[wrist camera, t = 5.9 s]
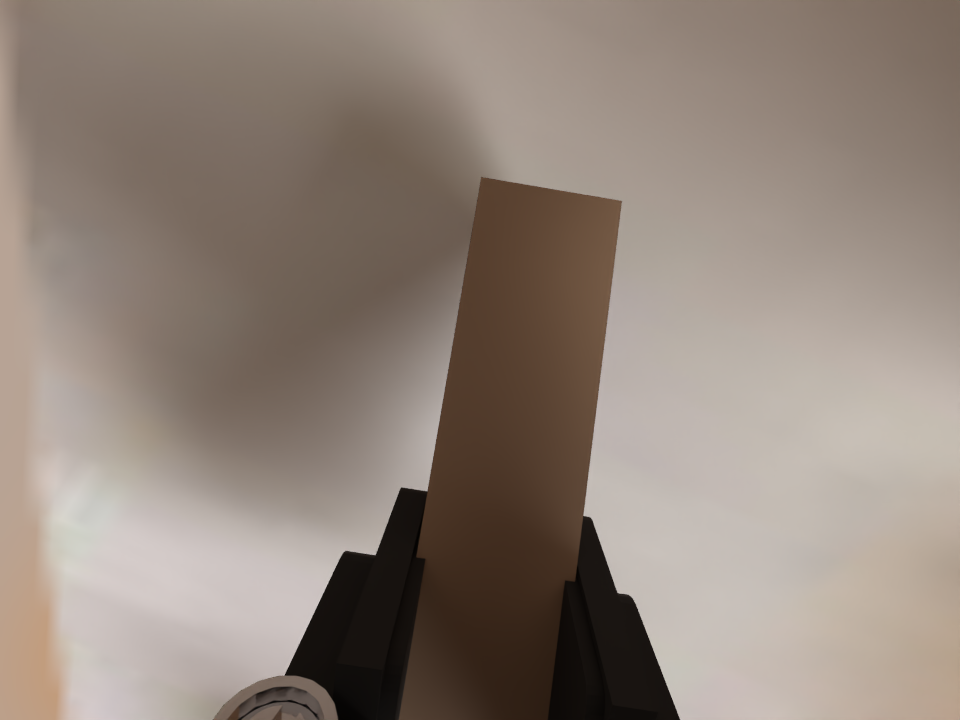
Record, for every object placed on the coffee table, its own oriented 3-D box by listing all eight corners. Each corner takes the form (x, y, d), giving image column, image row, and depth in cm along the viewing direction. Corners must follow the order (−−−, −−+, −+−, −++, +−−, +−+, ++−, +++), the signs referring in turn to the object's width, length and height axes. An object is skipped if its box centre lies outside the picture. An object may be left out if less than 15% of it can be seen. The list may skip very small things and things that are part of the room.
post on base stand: (658, 291, 12) (795, 194, 7) (596, 879, 10) (724, 1303, 5) (383, 245, 12) (329, 115, 7) (266, 830, 10) (79, 1215, 5)
